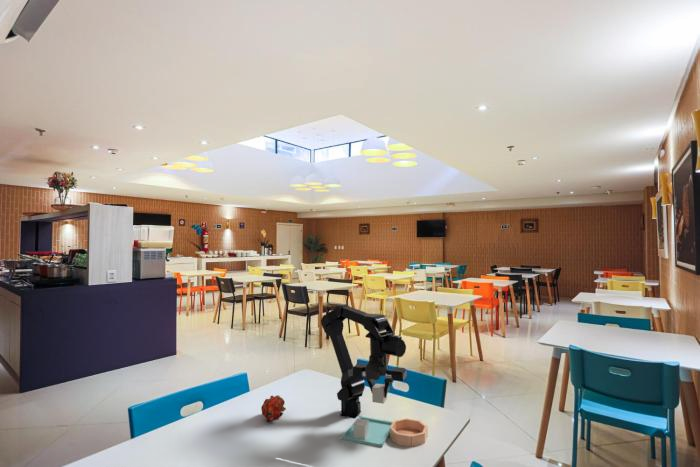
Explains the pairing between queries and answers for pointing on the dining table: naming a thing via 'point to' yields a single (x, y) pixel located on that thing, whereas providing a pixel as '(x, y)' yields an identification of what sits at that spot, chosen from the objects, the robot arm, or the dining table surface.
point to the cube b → (378, 393)
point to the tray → (371, 432)
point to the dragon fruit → (273, 408)
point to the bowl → (409, 432)
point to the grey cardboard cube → (361, 429)
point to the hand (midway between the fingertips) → (379, 396)
